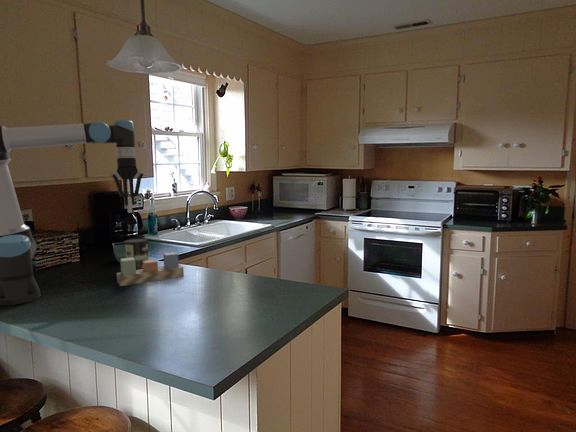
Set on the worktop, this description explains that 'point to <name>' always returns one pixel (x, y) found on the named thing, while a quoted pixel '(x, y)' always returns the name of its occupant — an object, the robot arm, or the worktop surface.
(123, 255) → the flower pot
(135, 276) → the socket rail
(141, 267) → the coffee can
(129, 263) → the sage block
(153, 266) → the terracotta block
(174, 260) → the slate block
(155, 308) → the worktop surface
